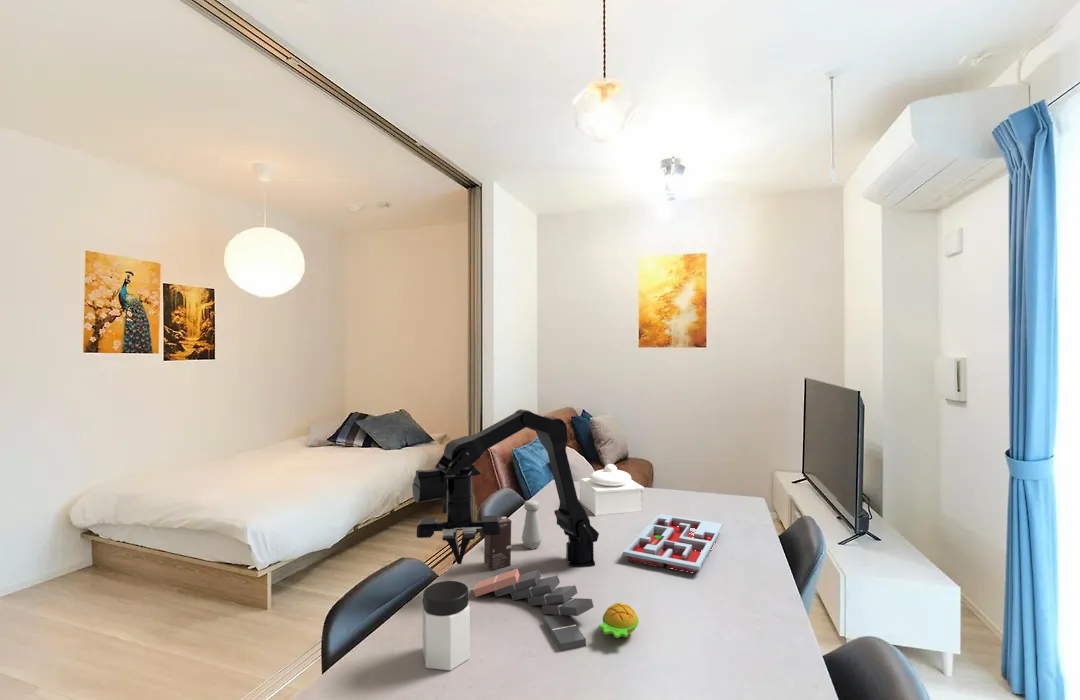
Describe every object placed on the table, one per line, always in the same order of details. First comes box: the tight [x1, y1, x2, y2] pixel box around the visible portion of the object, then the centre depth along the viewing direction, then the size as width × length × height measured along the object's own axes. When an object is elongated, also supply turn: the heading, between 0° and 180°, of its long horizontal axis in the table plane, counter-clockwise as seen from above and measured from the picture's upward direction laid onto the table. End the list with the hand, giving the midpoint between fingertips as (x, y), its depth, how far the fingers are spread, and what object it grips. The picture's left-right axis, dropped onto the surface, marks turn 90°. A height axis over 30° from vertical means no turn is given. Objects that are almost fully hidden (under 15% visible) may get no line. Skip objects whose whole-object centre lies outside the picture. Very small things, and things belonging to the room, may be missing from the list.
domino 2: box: [493, 569, 542, 598], centre depth 113 cm, size 2×5×10 cm
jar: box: [422, 580, 471, 671], centre depth 90 cm, size 9×8×12 cm
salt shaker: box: [521, 499, 543, 550], centre depth 142 cm, size 6×6×13 cm
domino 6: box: [543, 614, 587, 652], centre depth 97 cm, size 2×5×10 cm
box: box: [483, 515, 512, 571], centre depth 129 cm, size 6×4×12 cm
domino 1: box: [472, 568, 521, 598], centre depth 113 cm, size 2×5×10 cm
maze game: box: [622, 513, 724, 574], centre depth 141 cm, size 35×20×3 cm, turn 151°
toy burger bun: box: [598, 602, 640, 639], centre depth 96 cm, size 7×10×5 cm
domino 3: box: [510, 575, 561, 601], centre depth 111 cm, size 2×5×10 cm
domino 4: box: [526, 584, 578, 606], centre depth 107 cm, size 2×5×10 cm
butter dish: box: [579, 463, 645, 517], centre depth 178 cm, size 18×18×16 cm
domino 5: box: [541, 597, 594, 617], centre depth 103 cm, size 2×5×10 cm
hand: (459, 563), depth 114 cm, fingers closed
